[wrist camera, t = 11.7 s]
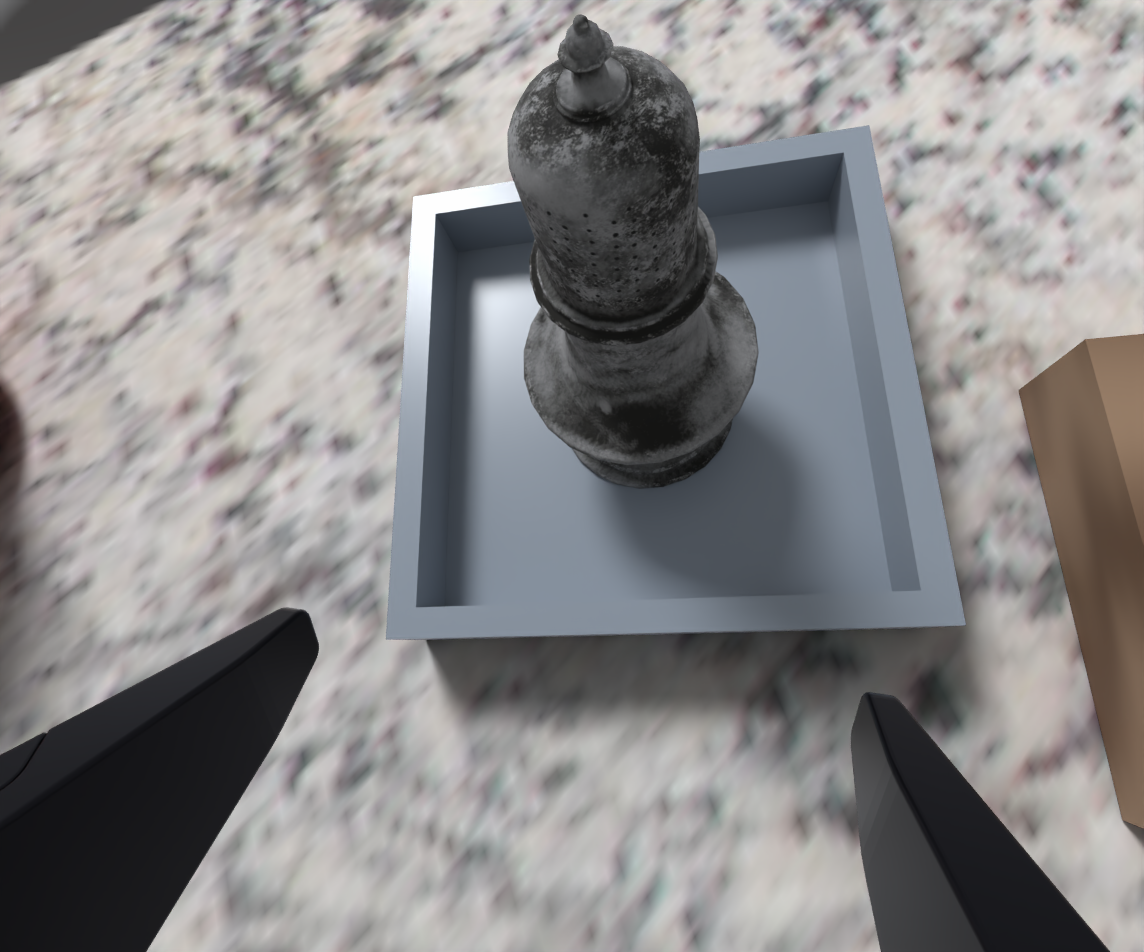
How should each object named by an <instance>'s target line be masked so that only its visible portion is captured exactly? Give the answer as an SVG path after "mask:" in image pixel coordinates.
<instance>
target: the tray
mask: <svg viewBox="0 0 1144 952" xmlns="http://www.w3.org/2000/svg"><path fill="white" fill-rule="evenodd" d="M698 207H699V208H700V209H701V210H702V211H703V212H704V213H705V214H706V216H707V218H708V220H709V222H710V225H711V227H712V229H713V231H714V233H715V238H716V245H717V253H718V260H717V265H716V272H718V273H719V274H721V275H722V276H724V277H725V278H726V279H727V280H728V281H729V282H730V284H731V285H732V286H733V287H734V288H735V289H736V290H737V292H738V293H739V294H740V295H741V296H742V297H743V299H744V301H745V303H746V305H747V307H748V310H749V312H750V314H751V316H752V318H753V321H754V323H755V327H756V335H757V343H758V351H759V354H758V360H757V365H756V371H755V377H754V382H753V385H752V387H751V389H750V391H749V393H748V395H747V397H746V399H745V401H744V403H743V405H742V407H741V409H740V411H739V412H738V413H737V414H736V415H735V416H734V418H733V420H732V426H731V430H730V432H729V434H728V436H727V438H726V440H725V442H724V444H723V446H722V448H721V450H720V451H719V452H718V453H717V454H716V455H715V456H714V457H713V458H712V460H711V461H710V462H709V463H708V464H707V465H706V466H705V467H704V468H702V469H701V470H699V471H698V472H696V473H694V474H693V475H691V476H690V477H688V478H687V479H685V480H682V481H679V482H676V483H673V484H670V485H667V486H664V487H655V488H641V489H639V488H633V487H628V486H622V485H617V484H615V483H613V482H610V481H608V480H606V479H604V478H602V477H600V476H598V475H596V474H595V473H594V472H592V471H591V470H590V469H589V468H588V467H587V466H585V465H584V464H583V463H582V462H581V461H580V460H579V459H578V457H577V456H576V454H575V453H574V451H573V450H572V448H570V447H569V446H568V445H567V444H565V443H564V442H563V441H562V440H561V439H560V438H558V437H557V436H556V435H555V434H554V433H553V432H551V431H550V430H549V429H548V428H547V427H546V425H545V423H544V422H543V420H542V419H541V417H540V416H539V414H538V413H537V411H536V410H535V408H534V407H533V405H532V403H531V400H530V397H529V393H528V390H527V387H526V383H525V380H524V348H525V344H526V340H527V337H528V333H529V329H530V326H531V323H532V321H533V320H534V318H535V316H536V315H537V313H538V311H539V309H540V308H541V306H540V305H539V304H538V302H537V300H536V297H535V294H534V291H533V288H532V285H531V282H530V263H529V259H530V255H531V251H532V248H533V244H534V240H535V237H534V235H533V232H532V229H531V227H530V224H529V221H528V219H527V216H526V213H525V211H524V208H523V205H522V202H521V200H520V197H519V194H518V192H517V189H516V186H515V183H514V181H511V182H504V183H498V184H491V185H485V186H479V187H472V188H466V189H460V190H453V191H447V192H440V193H434V194H428V195H421V196H415V197H413V212H412V228H411V244H410V260H409V276H408V292H407V308H406V324H405V340H404V357H403V373H402V389H401V405H400V421H399V437H398V453H397V469H396V485H395V502H394V518H393V534H392V550H391V566H390V582H389V598H388V614H387V630H386V639H395V640H442V639H484V638H526V637H568V636H610V635H652V634H694V633H736V632H778V631H820V630H863V629H905V628H932V627H948V626H963V625H966V623H965V618H964V612H963V607H962V602H961V597H960V592H959V587H958V582H957V576H956V571H955V566H954V561H953V556H952V551H951V545H950V540H949V535H948V530H947V525H946V520H945V514H944V509H943V504H942V499H941V494H940V489H939V483H938V478H937V473H936V468H935V463H934V458H933V452H932V447H931V442H930V437H929V432H928V427H927V421H926V416H925V411H924V406H923V401H922V396H921V390H920V385H919V380H918V375H917V370H916V365H915V359H914V354H913V349H912V344H911V339H910V334H909V328H908V323H907V318H906V313H905V308H904V303H903V298H902V292H901V287H900V282H899V277H898V272H897V267H896V261H895V256H894V251H893V246H892V241H891V236H890V230H889V225H888V220H887V215H886V210H885V205H884V199H883V194H882V189H881V184H880V179H879V174H878V168H877V163H876V158H875V153H874V148H873V143H872V137H871V132H870V127H869V125H868V126H862V127H856V128H849V129H843V130H836V131H830V132H824V133H817V134H811V135H804V136H798V137H792V138H785V139H779V140H773V141H766V142H760V143H753V144H747V145H741V146H734V147H728V148H721V149H715V150H709V151H702V152H699V184H698Z"/></svg>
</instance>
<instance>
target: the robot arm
mask: <svg viewBox="0 0 1144 952" xmlns="http://www.w3.org/2000/svg"><path fill="white" fill-rule="evenodd" d="M318 651H319V643H318V640H317V637H316V634H315V630H314V627H313V624H312V621H311V618H310V616H309V614H308V613H307V612H306V611H305V610H302V609H295V608H288V607H286V608H281V609H279V610H277V611H275V612H273V613H271V614H269V615H267V616H265V617H263V618H261V619H259V620H257V621H256V622H254V623H252V624H250V625H248V626H246V627H244V628H242V629H240V630H238V631H237V632H235V633H233V634H231V635H229V636H227V637H225V638H223V639H221V640H219V641H217V642H216V643H214V644H212V645H210V646H208V647H206V648H204V649H202V650H200V651H198V652H196V653H195V654H193V655H191V656H189V657H187V658H185V659H183V660H181V661H179V662H177V663H175V664H174V665H172V666H170V667H168V668H166V669H164V670H162V671H160V672H158V673H156V674H154V675H153V676H151V677H149V678H147V679H145V680H143V681H141V682H139V683H137V684H135V685H133V686H132V687H130V688H128V689H126V690H124V691H122V692H120V693H118V694H116V695H114V696H112V697H111V698H109V699H107V700H105V701H103V702H101V703H99V704H97V705H95V706H93V707H91V708H90V709H88V710H86V711H84V712H82V713H80V714H78V715H76V716H74V717H72V718H70V719H69V720H67V721H65V722H63V723H61V724H59V725H57V726H55V727H53V728H51V729H50V730H49V731H48V732H47V733H42V734H40V735H38V736H36V737H34V738H32V739H30V740H28V741H26V742H25V743H23V744H21V745H19V746H17V747H15V748H13V749H11V750H9V751H7V752H5V753H3V754H1V755H0V952H146V951H147V950H148V948H149V946H150V945H151V943H152V942H153V940H154V938H155V937H156V935H157V933H158V932H159V930H160V929H161V927H162V925H163V924H164V922H165V920H166V919H167V917H168V916H169V914H170V912H171V911H172V909H173V907H174V906H175V904H176V902H177V901H178V899H179V898H180V896H181V894H182V893H183V891H184V889H185V888H186V886H187V885H188V883H189V881H190V880H191V878H192V876H193V875H194V873H195V872H196V870H197V868H198V867H199V865H200V863H201V862H202V860H203V859H204V857H205V855H206V854H207V852H208V850H209V849H210V847H211V846H212V844H213V842H214V841H215V839H216V837H217V836H218V834H219V832H220V831H221V829H222V828H223V826H224V824H225V823H226V821H227V819H228V818H229V816H230V815H231V813H232V811H233V810H234V808H235V806H236V805H237V803H238V802H239V800H240V798H241V797H242V795H243V793H244V792H245V790H246V789H247V787H248V785H249V784H250V782H251V780H252V779H253V777H254V775H255V774H256V772H257V771H258V769H259V767H260V766H261V764H262V762H263V761H264V759H265V758H266V756H267V754H268V753H269V751H270V749H271V748H272V746H273V744H274V742H275V741H276V739H277V737H278V735H279V733H280V731H281V730H282V728H283V726H284V724H285V722H286V720H287V718H288V716H289V714H290V712H291V710H292V707H293V705H294V703H295V701H296V699H297V697H298V695H299V693H300V691H301V689H302V687H303V685H304V683H305V681H306V679H307V677H308V675H309V673H310V671H311V669H312V667H313V665H314V663H315V661H316V658H317V656H318ZM851 751H852V762H853V772H854V783H855V794H856V805H857V815H858V826H859V837H860V846H861V855H862V860H863V866H864V872H865V877H866V882H867V886H868V891H869V896H870V901H871V906H872V911H873V916H874V920H875V925H876V930H877V935H878V940H879V945H880V949H881V952H1110V951H1109V950H1108V949H1107V947H1106V946H1105V945H1104V944H1103V943H1102V941H1101V940H1100V939H1099V938H1098V937H1097V935H1096V934H1095V933H1094V932H1093V931H1092V929H1091V928H1090V927H1089V926H1088V925H1087V923H1086V922H1085V921H1084V920H1083V919H1082V918H1081V916H1080V915H1079V914H1078V913H1077V912H1076V910H1075V909H1074V908H1073V907H1072V906H1071V904H1070V903H1069V902H1068V901H1067V900H1066V898H1065V897H1064V896H1063V895H1062V894H1061V892H1060V891H1059V890H1058V889H1057V888H1056V886H1055V885H1054V884H1053V883H1052V882H1051V881H1050V879H1049V878H1048V877H1047V876H1046V875H1045V873H1044V872H1043V871H1042V870H1041V869H1040V867H1039V866H1038V865H1037V864H1036V863H1035V861H1034V860H1033V859H1032V858H1031V857H1030V855H1029V854H1028V853H1027V852H1026V851H1025V850H1024V848H1023V847H1022V846H1021V845H1020V844H1019V842H1018V841H1017V840H1016V839H1015V838H1014V836H1013V835H1012V834H1011V833H1010V832H1009V830H1008V829H1007V828H1006V827H1005V826H1004V824H1003V823H1002V822H1001V821H1000V820H999V819H998V817H997V816H996V815H995V814H994V813H993V811H992V810H991V809H990V808H989V807H988V805H987V804H986V803H985V802H984V801H983V799H982V798H981V797H980V796H979V795H978V793H977V792H976V791H975V790H974V789H973V787H972V786H971V785H970V784H969V783H968V782H967V780H966V779H965V778H964V777H963V776H962V774H961V773H960V772H959V771H958V770H957V768H956V767H955V766H954V765H953V764H952V762H951V761H950V760H949V759H948V758H947V756H946V755H945V754H944V753H943V752H942V751H941V749H940V748H939V747H938V746H937V745H936V743H935V742H934V741H933V740H932V739H931V737H930V736H929V735H928V734H927V733H926V731H925V730H924V729H923V728H922V727H921V725H920V724H919V723H918V722H917V721H916V720H915V718H914V717H913V716H912V715H911V714H910V712H909V711H908V710H907V709H906V708H905V706H904V705H903V704H902V703H901V702H900V701H899V700H898V699H897V698H896V697H894V696H891V695H885V694H878V693H871V692H867V693H865V694H864V695H863V696H862V698H861V700H860V704H859V707H858V710H857V714H856V717H855V721H854V724H853V727H852V732H851Z"/></svg>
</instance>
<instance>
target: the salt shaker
mask: <svg viewBox="0 0 1144 952" xmlns="http://www.w3.org/2000/svg"><path fill="white" fill-rule="evenodd" d="M558 58H559V59H558V60H557V61H555V62H554V63H552V64H551V65H549V66H548V67H546V68H545V69H543V70H542V71H541V72H540V73H539V74H538V75H537V76H536V77H535V78H534V79H533V80H532V81H531V82H530V84H529V85H528V87H527V88H526V90H525V92H524V93H523V95H522V97H521V98H520V100H519V102H518V104H517V106H516V108H515V110H514V113H513V116H512V119H511V123H510V126H509V129H508V159H509V169H510V172H511V175H512V178H513V181H514V183H515V186H516V189H517V192H518V194H519V197H520V200H521V202H522V205H523V208H524V211H525V213H526V216H527V219H528V221H529V224H530V227H531V229H532V232H533V235H534V237H535V240H534V244H533V248H532V251H531V255H530V259H529V263H530V282H531V285H532V288H533V291H534V294H535V297H536V300H537V302H538V304H539V305H540V306H541V308H540V309H539V311H538V313H537V315H536V316H535V318H534V320H533V321H532V323H531V326H530V329H529V333H528V337H527V340H526V344H525V348H524V380H525V383H526V387H527V390H528V393H529V397H530V400H531V403H532V405H533V407H534V408H535V410H536V411H537V413H538V414H539V416H540V417H541V419H542V420H543V422H544V423H545V425H546V427H547V428H548V429H549V430H550V431H551V432H553V433H554V434H555V435H556V436H557V437H558V438H560V439H561V440H562V441H563V442H564V443H565V444H567V445H568V446H569V447H570V448H572V450H573V451H574V453H575V454H576V456H577V457H578V459H579V460H580V461H581V462H582V463H583V464H584V465H585V466H587V467H588V468H589V469H590V470H591V471H592V472H594V473H595V474H596V475H598V476H600V477H602V478H604V479H606V480H608V481H610V482H613V483H615V484H617V485H622V486H628V487H633V488H639V489H641V488H655V487H664V486H667V485H670V484H673V483H676V482H679V481H682V480H685V479H687V478H688V477H690V476H691V475H693V474H694V473H696V472H698V471H699V470H701V469H702V468H704V467H705V466H706V465H707V464H708V463H709V462H710V461H711V460H712V458H713V457H714V456H715V455H716V454H717V453H718V452H719V451H720V450H721V448H722V446H723V444H724V442H725V440H726V438H727V436H728V434H729V432H730V430H731V426H732V420H733V418H734V416H735V415H736V414H737V413H738V412H739V411H740V409H741V407H742V405H743V403H744V401H745V399H746V397H747V395H748V393H749V391H750V389H751V387H752V385H753V382H754V377H755V371H756V365H757V360H758V354H759V351H758V343H757V335H756V327H755V323H754V321H753V318H752V316H751V314H750V312H749V310H748V307H747V305H746V303H745V301H744V299H743V297H742V296H741V295H740V294H739V293H738V292H737V290H736V289H735V288H734V287H733V286H732V285H731V284H730V282H729V281H728V280H727V279H726V278H725V277H724V276H722V275H721V274H719V273H718V272H716V265H717V260H718V253H717V245H716V238H715V233H714V231H713V229H712V227H711V225H710V222H709V220H708V218H707V216H706V214H705V213H704V212H703V211H702V210H701V209H700V208H699V207H698V184H699V146H700V137H699V129H698V121H697V116H696V112H695V108H694V104H693V101H692V99H691V97H690V95H689V93H688V91H687V89H686V87H685V85H684V83H683V82H682V81H681V80H680V79H679V78H678V77H677V76H676V75H675V74H674V73H673V72H672V71H671V70H670V69H669V68H667V67H666V66H665V65H664V64H663V63H661V62H660V61H659V60H657V59H655V58H653V57H652V56H650V55H648V54H646V53H644V52H642V51H639V50H635V49H631V48H627V47H623V46H613V42H612V40H611V38H610V35H609V34H608V33H607V32H605V31H603V30H601V29H599V28H598V26H597V24H596V23H594V22H592V21H590V20H588V19H587V17H586V16H584V15H577V16H576V17H575V18H574V21H573V24H572V25H571V26H570V28H569V29H568V30H567V33H566V38H565V39H564V40H563V41H562V42H561V43H560V47H559V51H558Z"/></svg>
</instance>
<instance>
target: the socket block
mask: <svg viewBox="0 0 1144 952" xmlns="http://www.w3.org/2000/svg"><path fill="white" fill-rule="evenodd" d="M1019 394H1020V398H1021V402H1022V406H1023V410H1024V415H1025V419H1026V423H1027V427H1028V431H1029V435H1030V439H1031V444H1032V448H1033V452H1034V456H1035V460H1036V464H1037V468H1038V472H1039V477H1040V481H1041V485H1042V489H1043V493H1044V497H1045V501H1046V506H1047V510H1048V514H1049V518H1050V522H1051V526H1052V530H1053V534H1054V539H1055V543H1056V547H1057V551H1058V555H1059V559H1060V563H1061V568H1062V572H1063V576H1064V580H1065V584H1066V588H1067V592H1068V596H1069V601H1070V605H1071V609H1072V613H1073V617H1074V621H1075V625H1076V629H1077V634H1078V638H1079V642H1080V646H1081V650H1082V654H1083V658H1084V663H1085V667H1086V671H1087V675H1088V679H1089V683H1090V687H1091V691H1092V696H1093V700H1094V704H1095V708H1096V712H1097V716H1098V720H1099V725H1100V729H1101V733H1102V737H1103V741H1104V745H1105V749H1106V753H1107V758H1108V762H1109V766H1110V770H1111V774H1112V778H1113V782H1114V787H1115V791H1116V795H1117V799H1118V803H1119V807H1120V811H1121V815H1122V820H1123V821H1126V822H1128V823H1131V824H1133V825H1136V826H1138V827H1141V828H1143V829H1144V334H1138V335H1127V336H1117V337H1106V338H1096V339H1085V340H1084V341H1083V342H1081V343H1080V344H1079V345H1077V346H1076V347H1075V348H1074V349H1072V350H1071V351H1070V352H1068V353H1067V354H1066V355H1064V356H1063V357H1062V358H1060V359H1059V360H1058V361H1056V362H1055V363H1054V364H1052V365H1051V366H1050V367H1049V368H1047V369H1046V370H1045V371H1043V372H1042V373H1041V374H1039V375H1038V376H1037V377H1035V378H1034V379H1033V380H1031V381H1030V382H1029V383H1028V384H1026V385H1025V386H1024V387H1022V388H1021V389H1020V390H1019Z"/></svg>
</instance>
